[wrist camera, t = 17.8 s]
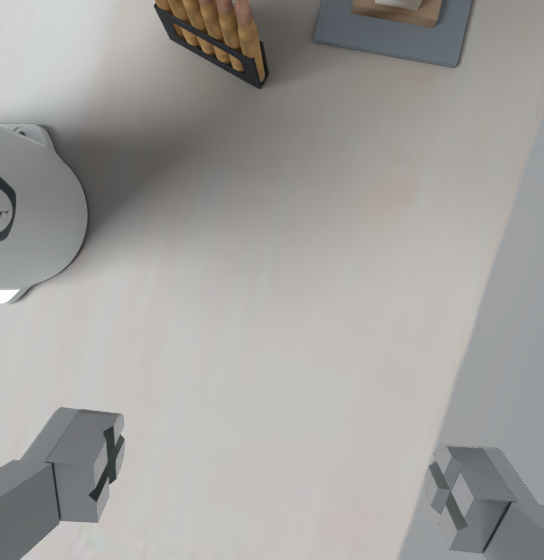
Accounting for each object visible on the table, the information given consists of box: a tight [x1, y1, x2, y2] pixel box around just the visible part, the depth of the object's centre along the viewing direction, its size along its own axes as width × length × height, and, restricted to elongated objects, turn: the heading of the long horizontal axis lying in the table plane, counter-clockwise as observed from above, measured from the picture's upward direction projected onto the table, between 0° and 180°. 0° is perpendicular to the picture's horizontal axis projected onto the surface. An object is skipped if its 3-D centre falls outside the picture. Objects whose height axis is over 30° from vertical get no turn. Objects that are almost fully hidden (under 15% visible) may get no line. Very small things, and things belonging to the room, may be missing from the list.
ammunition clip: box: [154, 0, 269, 89], centre depth 33 cm, size 11×2×12 cm, turn 60°
